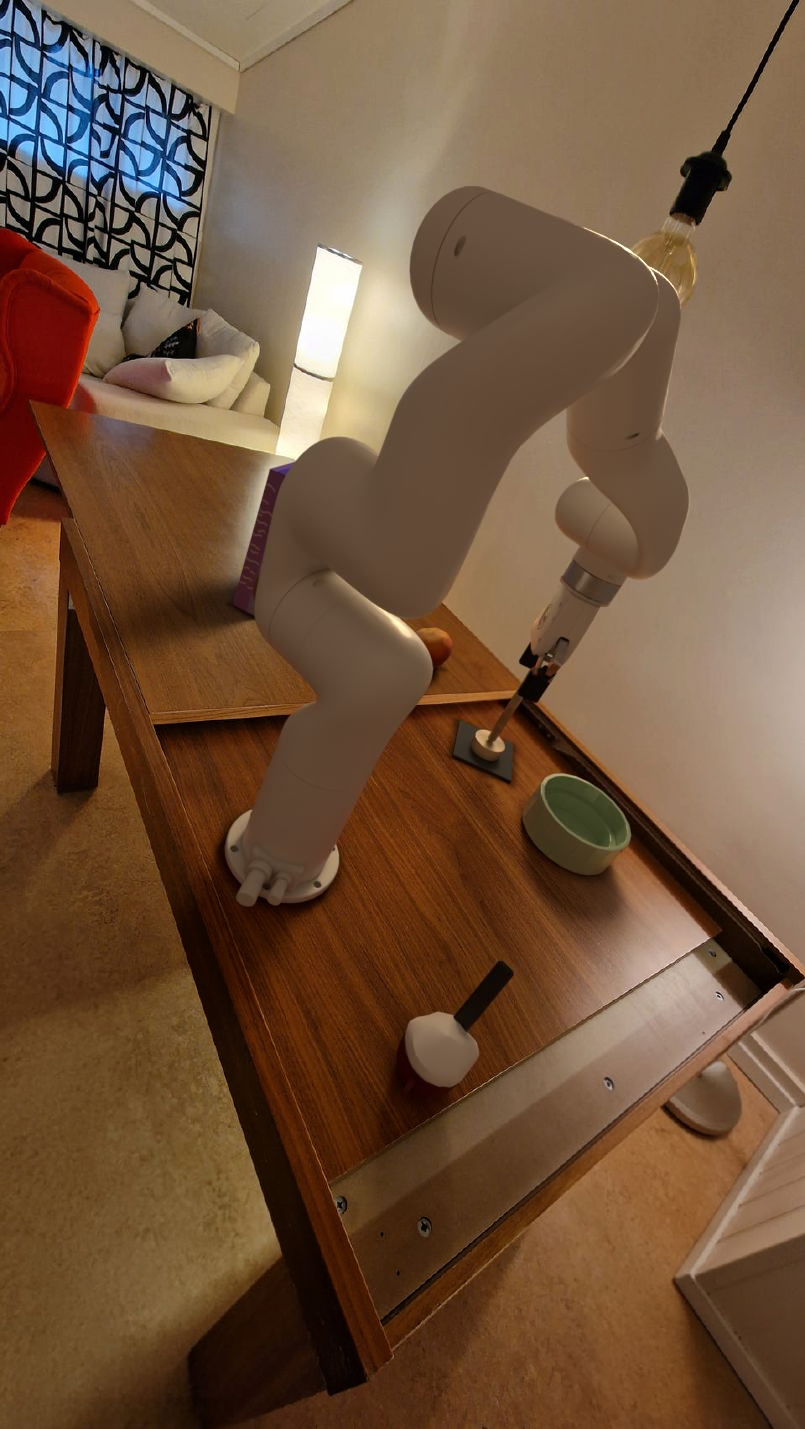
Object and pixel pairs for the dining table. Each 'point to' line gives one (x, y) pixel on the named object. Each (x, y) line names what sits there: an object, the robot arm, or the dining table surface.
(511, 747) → the mat
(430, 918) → the dining table surface
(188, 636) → the dining table surface
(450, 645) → the fruit
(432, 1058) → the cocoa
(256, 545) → the cereal box
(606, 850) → the bowl
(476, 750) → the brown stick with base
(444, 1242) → the dining table surface
